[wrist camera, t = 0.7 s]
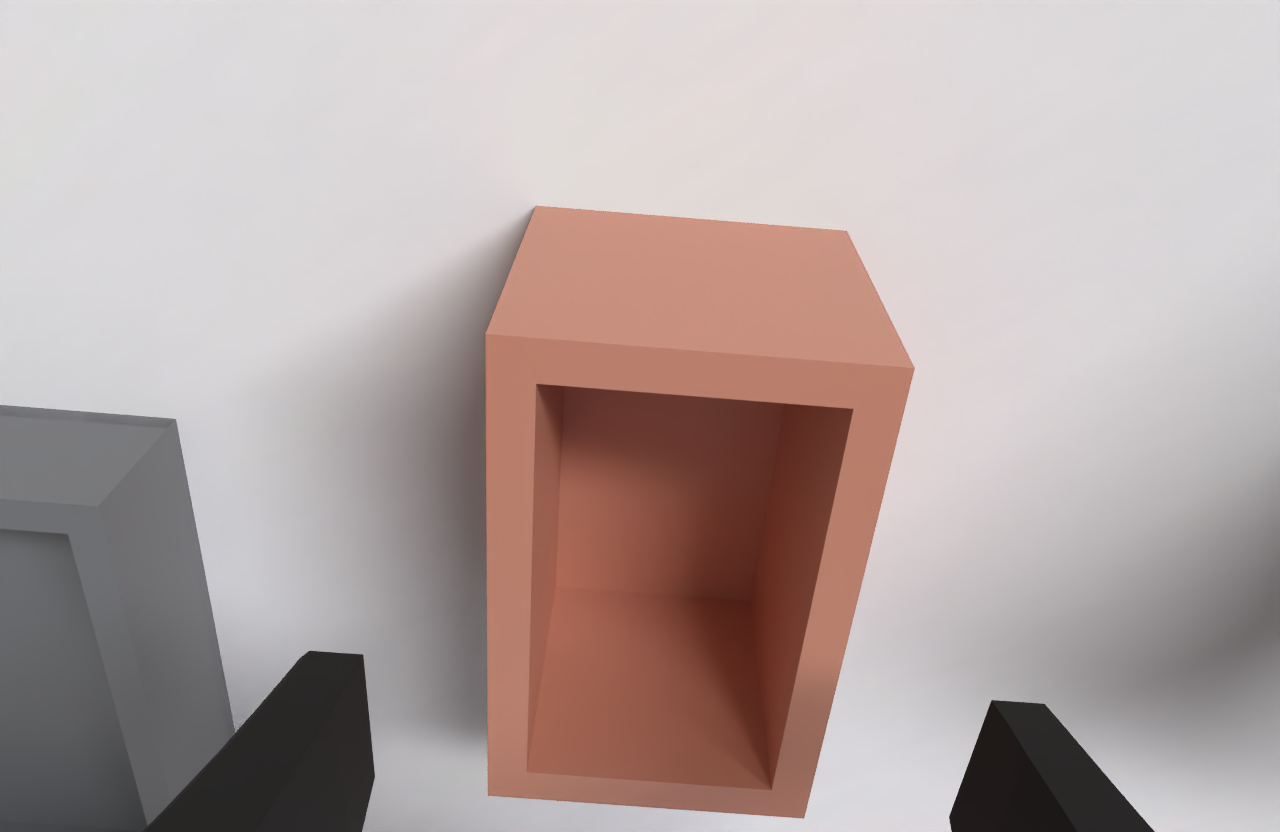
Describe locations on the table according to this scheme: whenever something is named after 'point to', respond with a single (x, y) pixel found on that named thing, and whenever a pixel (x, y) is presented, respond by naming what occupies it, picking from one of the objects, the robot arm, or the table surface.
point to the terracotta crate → (678, 505)
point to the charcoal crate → (101, 624)
